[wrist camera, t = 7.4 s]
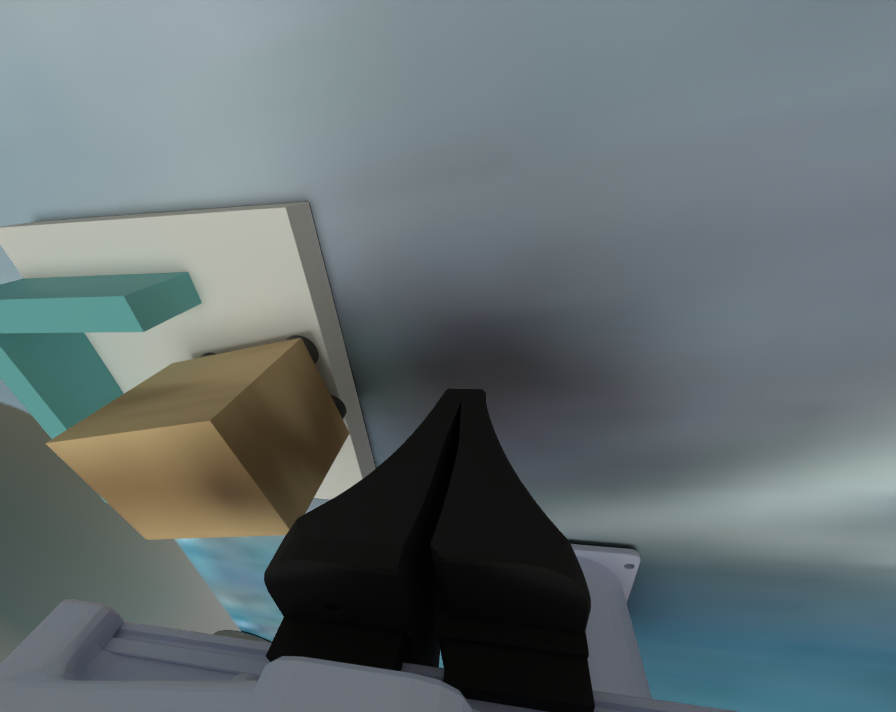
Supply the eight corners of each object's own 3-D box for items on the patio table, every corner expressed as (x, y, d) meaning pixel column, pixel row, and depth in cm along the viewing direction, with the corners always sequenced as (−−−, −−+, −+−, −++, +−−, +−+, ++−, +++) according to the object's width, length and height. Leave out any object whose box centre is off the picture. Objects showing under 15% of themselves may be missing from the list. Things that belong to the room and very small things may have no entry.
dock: (378, 478, 19) (350, 549, 16) (188, 466, 21) (126, 527, 18) (308, 201, 12) (232, 220, 9) (35, 221, 14) (-113, 243, 11)
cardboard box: (356, 420, 15) (293, 534, 11) (244, 434, 17) (146, 539, 12) (311, 327, 13) (209, 420, 9) (188, 353, 15) (45, 443, 10)
